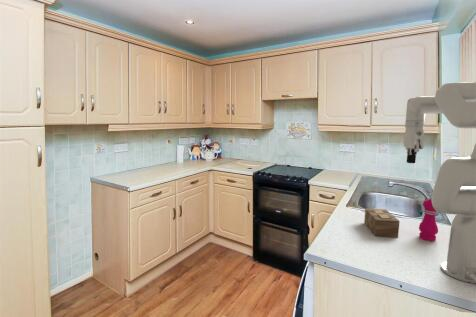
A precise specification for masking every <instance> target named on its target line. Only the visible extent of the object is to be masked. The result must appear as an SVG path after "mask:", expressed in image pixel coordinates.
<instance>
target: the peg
mask: <svg viewBox="0 0 476 317" xmlns="http://www.w3.org/2000/svg"><path fill="white" fill-rule="evenodd" d="M378 217H379V218H380V219H390V217H389V216H387V215H378Z"/></svg>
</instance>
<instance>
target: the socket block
mask: <svg viewBox="0 0 476 317" xmlns="http://www.w3.org/2000/svg"><path fill="white" fill-rule="evenodd" d="M378 215H387V216H389V217H390V219H380V218H379V217H378ZM363 220H364V222H363V224H364V225H365V226H366V228H368V230H370V232H371V233H372V235H373V236H374V237H378V238H379V237H381V238H399V230H400V220H399V219H398V218H397V217H396V216H394V215H393V214H392V213H391V212H390V211H389V210H388V209H386V208H385V209H384V208H383V209H381V208H365V209H364V219H363Z"/></svg>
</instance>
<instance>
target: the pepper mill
mask: <svg viewBox="0 0 476 317" xmlns="http://www.w3.org/2000/svg"><path fill="white" fill-rule="evenodd" d="M422 206H423V213H424V215H423V219H422V220H421V222H420V223H419V226H418V229H419V231H420V232H419V235H418V236H419V238H420V239H421V240H424V241H428V242H435V241H436V240H437V236H436V235H437V234H438V233H439V227H438V224H437V222H436V217H437V216H436V215H438V211H436V210H435V209H434V207H433V205H432V195H430V196H429V198H427V199H425V200H424V201H423V202H422Z"/></svg>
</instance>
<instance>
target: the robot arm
mask: <svg viewBox="0 0 476 317" xmlns="http://www.w3.org/2000/svg"><path fill="white" fill-rule="evenodd" d="M426 114H427V115H428V114H430V115H431V114H432V115H433V114H436V115H437V114H439V115H440V114H443V115H444V117H446V120H448V122H449V123H450V125H452V126H453V127H455V128H459V129H476V82H475V81H454V82H452V81H451V82H447V83H444V84H442V85H440V86H439V87H438V89H437V90H436V91H435V95H432V96H431V95H428V96H427V95H426V96H425V95H424V96H421V95H420V96H416V97H410V98H408V99H407V103H406V112H405V122H404V128H405V132H404V138H403V147H404V148H405V150H406V163H407V164H415V163H416V160H417V154H418V153H419V152H420V150H422V149H424V145H425V142H424V141H425V129H424V127H425V120H426V119H425V118H426ZM473 146H474V147H473V149H472V152H471V154H470V155H469V156H467V157H463V156H462V157H460V156H459V157H457V156H456V157H451V158H450V157H449V158H448V159H446V160H444V162H443V163H442V164H441V166H440V167H439V170H438V173H437V178H436V180H435V184H434V186H433V191H432V192H431V193H432V194H431V196H432V205H433V207H434V209H435V210H436V211H437V213H440V214H444V215H455V216H454V218H452V222H451V225H450V226H451V227H450V232H449V240H448V250H447V258H446V261H442V262H441V263H440V270H442V272H444V274H446V275H448V276H450V277H452V278H454V279H456V280H458V281H462V282H466V283H469V282H470V283H471V284H476V143H475V144H474V145H473Z"/></svg>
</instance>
